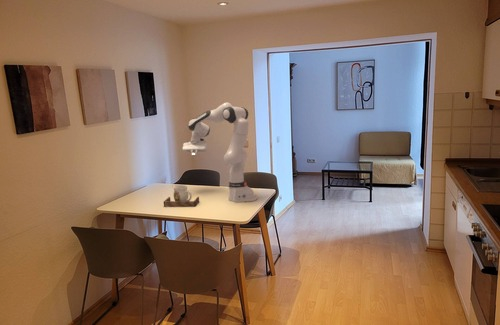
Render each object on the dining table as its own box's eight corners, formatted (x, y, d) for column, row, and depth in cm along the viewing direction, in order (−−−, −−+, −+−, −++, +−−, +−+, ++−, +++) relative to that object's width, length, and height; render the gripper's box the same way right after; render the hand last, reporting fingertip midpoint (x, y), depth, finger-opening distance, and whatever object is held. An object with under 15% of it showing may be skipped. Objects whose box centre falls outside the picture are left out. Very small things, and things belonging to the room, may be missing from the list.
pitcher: (187, 207, 283) (186, 189, 280) (168, 204, 291) (167, 187, 289) (196, 203, 292) (195, 185, 289) (178, 200, 301) (176, 183, 298)
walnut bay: (199, 201, 296) (199, 196, 295) (195, 206, 283) (194, 201, 282) (169, 201, 299) (168, 196, 298) (163, 206, 286) (163, 201, 285)
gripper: (182, 139, 315) (180, 153, 307) (207, 139, 312) (205, 153, 305) (184, 144, 320) (182, 157, 312) (208, 143, 318) (206, 157, 310)
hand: (193, 155), depth 308 cm, fingers closed
